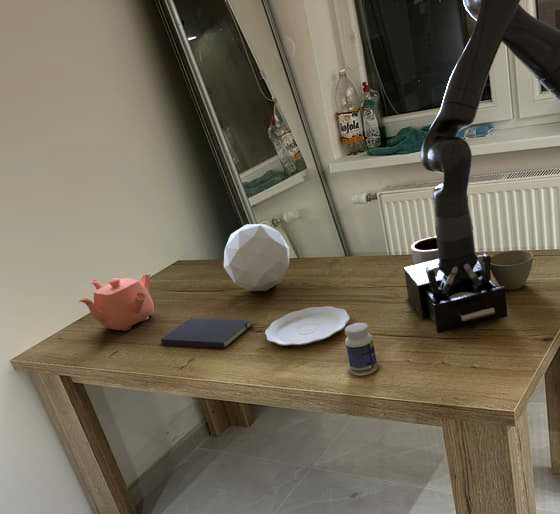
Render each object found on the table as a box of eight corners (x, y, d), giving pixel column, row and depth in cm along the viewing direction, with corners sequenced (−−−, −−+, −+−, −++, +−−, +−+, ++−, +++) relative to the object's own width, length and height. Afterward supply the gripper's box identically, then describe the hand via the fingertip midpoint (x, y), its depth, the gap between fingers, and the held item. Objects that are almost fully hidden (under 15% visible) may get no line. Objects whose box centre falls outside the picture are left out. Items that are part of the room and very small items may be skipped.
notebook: (162, 344, 181) (225, 348, 169) (160, 339, 180) (223, 342, 169) (190, 323, 190) (252, 325, 178) (189, 318, 189) (250, 319, 178)
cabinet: (493, 302, 157) (489, 268, 153) (422, 319, 158) (417, 285, 154) (473, 283, 169) (470, 251, 165) (408, 299, 170) (403, 267, 166)
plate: (254, 351, 163) (252, 345, 163) (284, 314, 180) (283, 308, 179) (335, 349, 155) (334, 342, 154) (360, 309, 171) (358, 303, 170)
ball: (252, 312, 205) (202, 268, 203) (291, 267, 212) (243, 223, 209) (271, 295, 187) (216, 246, 185) (313, 246, 194) (260, 198, 191)
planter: (408, 286, 177) (403, 251, 173) (425, 270, 184) (421, 236, 180) (448, 287, 171) (443, 251, 166) (464, 270, 178) (460, 235, 174)
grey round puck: (472, 299, 155) (471, 289, 153) (481, 309, 149) (480, 299, 148) (445, 306, 155) (444, 296, 154) (453, 316, 149) (452, 306, 148)
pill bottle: (381, 371, 140) (373, 328, 136) (354, 379, 140) (346, 336, 136) (373, 360, 145) (365, 318, 141) (348, 367, 145) (339, 326, 141)
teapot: (93, 342, 194) (76, 298, 188) (105, 318, 211) (89, 276, 205) (154, 327, 193) (139, 282, 187) (161, 304, 210) (147, 262, 204)
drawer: (516, 325, 143) (514, 295, 140) (444, 342, 143) (440, 313, 140) (487, 297, 158) (484, 269, 155) (422, 312, 159) (418, 286, 156)
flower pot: (534, 292, 157) (532, 263, 154) (489, 295, 161) (486, 267, 158) (535, 275, 165) (533, 247, 162) (492, 279, 169) (489, 252, 166)
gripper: (481, 220, 147) (488, 292, 155) (416, 236, 148) (426, 306, 155) (493, 229, 141) (500, 303, 148) (425, 246, 141) (435, 319, 149)
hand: (462, 305), depth 152 cm, fingers closed on grey round puck, 6 cm apart
